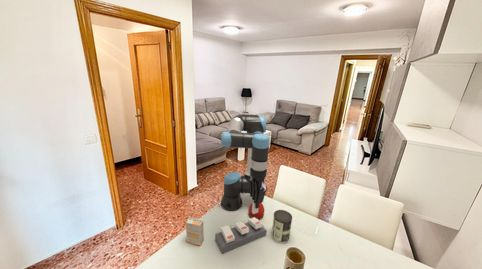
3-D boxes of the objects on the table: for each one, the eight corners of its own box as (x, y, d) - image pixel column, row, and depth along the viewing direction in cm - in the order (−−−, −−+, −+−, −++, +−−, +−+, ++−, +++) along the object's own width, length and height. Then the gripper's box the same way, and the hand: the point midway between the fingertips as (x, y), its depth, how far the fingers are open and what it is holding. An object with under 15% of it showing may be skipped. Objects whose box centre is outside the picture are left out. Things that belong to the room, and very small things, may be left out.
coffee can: (289, 231, 115) (291, 211, 112) (289, 244, 105) (292, 223, 102) (271, 228, 117) (274, 208, 113) (271, 241, 107) (273, 219, 104)
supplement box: (204, 239, 106) (204, 219, 102) (200, 246, 101) (199, 225, 98) (190, 236, 108) (190, 216, 104) (186, 242, 103) (185, 222, 100)
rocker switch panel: (215, 239, 106) (215, 232, 105) (256, 224, 120) (257, 217, 118) (222, 254, 98) (222, 246, 96) (266, 235, 111) (267, 228, 110)
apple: (257, 209, 134) (258, 195, 131) (267, 217, 126) (268, 204, 123) (245, 213, 129) (246, 200, 126) (254, 223, 120) (255, 208, 118)
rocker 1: (220, 230, 105) (221, 227, 104) (228, 227, 107) (228, 224, 106) (226, 243, 99) (227, 240, 98) (234, 240, 101) (234, 237, 100)
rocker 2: (235, 228, 110) (234, 223, 110) (241, 225, 112) (241, 221, 112) (241, 234, 103) (241, 230, 103) (248, 231, 105) (248, 227, 105)
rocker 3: (248, 223, 114) (248, 219, 114) (254, 221, 116) (254, 216, 116) (255, 229, 107) (255, 224, 107) (262, 226, 109) (262, 222, 109)
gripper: (244, 163, 91) (241, 206, 97) (259, 175, 80) (255, 223, 86) (257, 161, 94) (254, 202, 100) (274, 172, 83) (269, 218, 89)
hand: (255, 212), depth 93 cm, fingers closed
